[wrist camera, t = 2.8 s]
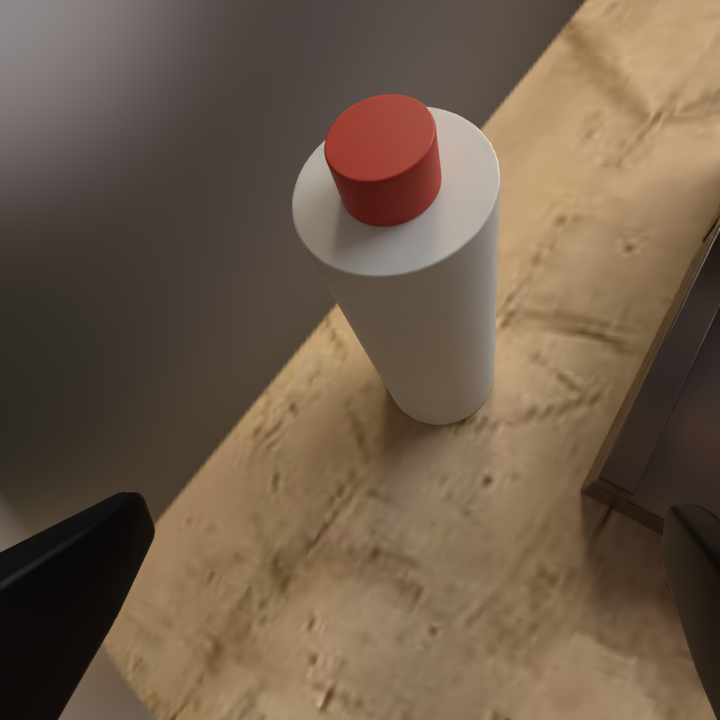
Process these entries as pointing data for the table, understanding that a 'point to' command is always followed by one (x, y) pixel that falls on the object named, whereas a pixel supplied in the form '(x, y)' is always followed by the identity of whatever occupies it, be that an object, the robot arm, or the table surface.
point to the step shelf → (671, 408)
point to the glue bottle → (409, 247)
